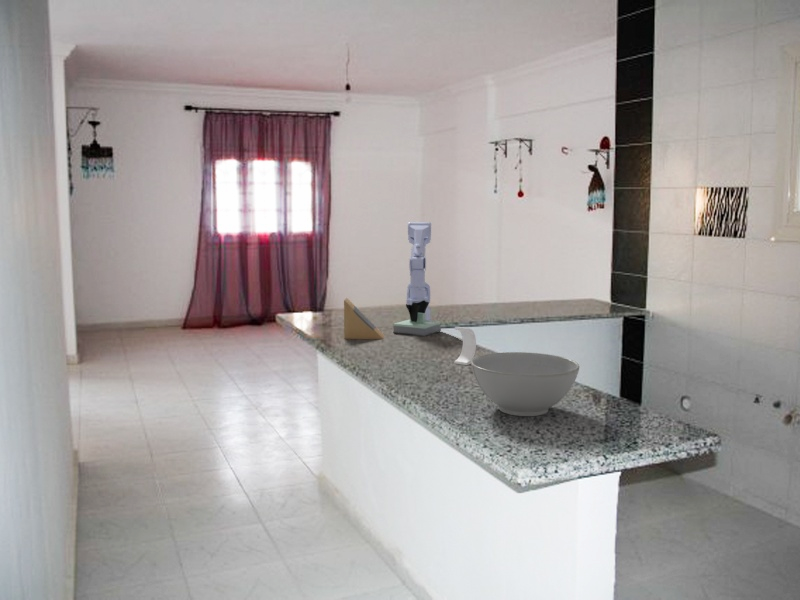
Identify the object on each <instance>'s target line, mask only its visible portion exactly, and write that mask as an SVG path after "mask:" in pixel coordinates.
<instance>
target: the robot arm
mask: <svg viewBox="0 0 800 600" xmlns="http://www.w3.org/2000/svg"><path fill="white" fill-rule="evenodd" d="M407 236H408V242H409V244H412V247H411V249H410V250H411V251H410V259H409V264H408V266H409V267H408V268H409V276H410V283H409V284H408V285H407V289H406V304H405V307H406V309H407V310H408V313H409V319H410V318H411V322H417V316H418V313H425V320H427V321H432V320H431V314H432V313H431V312H432V311H431V307H430V304H431V286H430V284H429V283H427V282H426V270H427V258H426V246H427V245H428V244H429V243H431V240H432V223H431V221H408V223H407Z"/></svg>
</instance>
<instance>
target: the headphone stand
mask: <svg viewBox="0 0 800 600" xmlns="http://www.w3.org/2000/svg"><path fill="white" fill-rule="evenodd" d="M454 330H456V331H457V330H458V332H460V335H461V336H462V347H461V352H460V354H459V357H458V358H457V359H456V360H454V363H453V364H454V365H455V364H456V365H461V366H469V365H471V361H472V359H474V358H475V357H474V356H475V354H476V350H477V338H476V334H475V332H474V330H473V329H471V328H469V327H463V326H462V327H461V326H455V327H454Z"/></svg>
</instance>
